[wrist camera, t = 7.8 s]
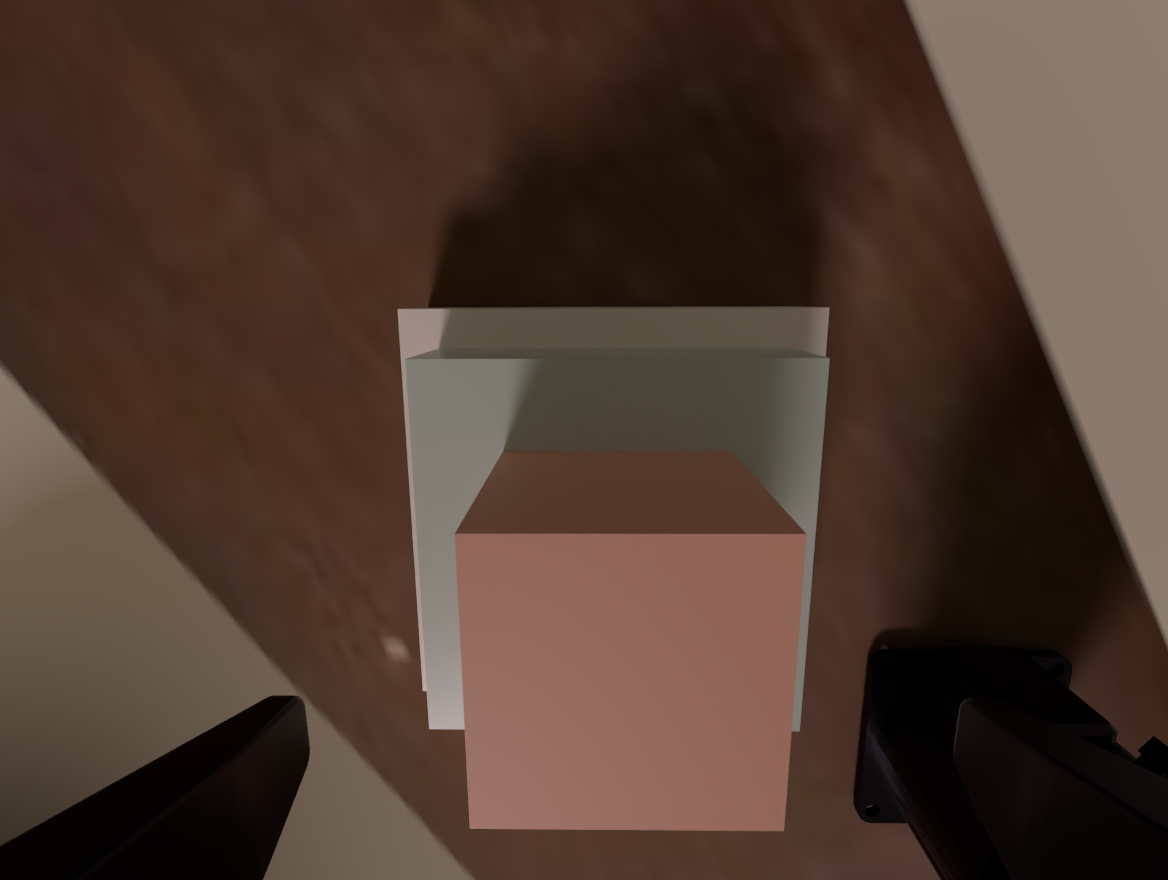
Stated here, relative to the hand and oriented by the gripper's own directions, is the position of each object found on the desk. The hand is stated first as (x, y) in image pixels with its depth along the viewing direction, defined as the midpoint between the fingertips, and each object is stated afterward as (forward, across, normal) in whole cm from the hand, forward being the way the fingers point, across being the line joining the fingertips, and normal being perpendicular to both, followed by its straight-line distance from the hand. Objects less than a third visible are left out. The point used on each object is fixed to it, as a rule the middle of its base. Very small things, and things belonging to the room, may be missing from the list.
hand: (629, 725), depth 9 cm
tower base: (+12, 0, 0) cm, 12 cm away
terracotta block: (+6, 0, 0) cm, 6 cm away
